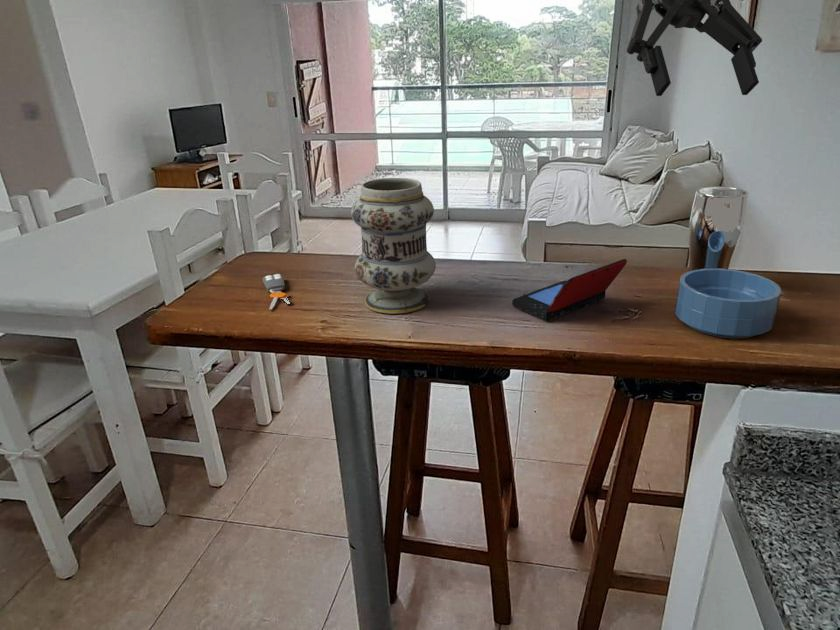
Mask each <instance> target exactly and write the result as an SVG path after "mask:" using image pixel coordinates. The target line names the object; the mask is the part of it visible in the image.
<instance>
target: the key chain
mask: <svg viewBox="0 0 840 630" xmlns="http://www.w3.org/2000/svg"><path fill="white" fill-rule="evenodd" d="M263 283H264V284H263ZM262 284H263V285H265V286H264V288H265V287H266V288H265V289H266V291H267V292H268V291H269V293H270V294H269V297H270V298H271V299H272V301H271V303H270V305H269V308H268V310H269V311H272V310H273V309H274V307H275V306H276V303H277V302H278V300H281V299H284V301H285V302H286V303H287V304H290V302H289V300H290V299H289V298H287V297H286V296H288V295H286V294H287V293H285V292H282V290H283V291H284V290H285V289H286V284H285V278H284V275H283V274H280V273H275V274H269V275H264V276H263V277H262ZM282 297H286V298H287V300H288V299H289V300H288V301H287V300H286V298H282ZM279 298H280V299H279ZM286 303H285V304H286ZM287 304H286V305H287ZM270 309H271V310H270Z"/></svg>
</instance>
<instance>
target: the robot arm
mask: <svg viewBox="0 0 840 630" xmlns="http://www.w3.org/2000/svg"><path fill="white" fill-rule="evenodd" d="M635 9H636V16H637V17H636V19H635V23H634V26H633V29H632V32H631V35H630V39H629V41H628V44H627V48H626V53H627V54H629V55H634V54H637V55H636V60H637V61H638V62H639V63H642V62H643V66H644V71H645V72H646V74H649V75H650V77H651V82H652V84H653V89H654V92H655V93H654V94H655V96H656V97H662V95H664V93H665V91H667V89H668V88H669V86H671V84H672V81H671V79H670V74H669V70H668V67H667V63H666V60H665V56H664V52H663V49H662V46H661V45H656V44H657V43H658V41H659V40H660V39H661V37H662V35H663V34H664V33H665V32H666V30H667V28H669V26H672V27H674V29H682V28H686V29H695V30H696V31H697V32H699V33H702V34H703V33H705V34H706V35H708V37H710V38H711V39H712V40H714V41H715V42H716V43H718V44H719V45H720V46H722V48H724V49H725V50H727V51H728V52H729V53H730V54H732V55H733V56H732V57H731V58H730V61H731V64H732V67H733V70H734V73H735V77H736V80H737V83H738V85H739V89H740V92H741V95H742V96H748V94H750V92H752V91H753V90H754V89H755V87H756V86H758V84H759V83H760V81H759V78H758V75H757V71H756V69H755V68H756V67H757V63H756V59H755V56H754V53H753V52H754V51H755V50H756V49H757V48H758V47H759V46H760V44H761V43H762V42H763V39H762V36H760V35H759V33H757V31H756V30H755V29H754V28H753V27H752V26H751V25H750V24H749V23H748V21H746V19H745V18H744V17H743V16H742V15H741V14H740V12H738V10H737V9H736V8H735V7H734V6H733V5H732V3H731V1H730V0H639V2H638V3H637V5H636V8H635ZM653 11H655V12H656V14H657V15H658V16H659V17H661V18H662V19H661V20H660V22H659V23H658V25H657V26H656V27H655V29H654V30H653V32H652V33H651V34H650V35H649V37H648V38H647V40H645V39H644V35H645V32H646V30H647V26H648V23H649V19H650V16H651V14H652V12H653ZM706 15H707V18H706V19H705V21H704V22H702V21H703V19H704V18H705V17H706Z"/></svg>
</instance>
